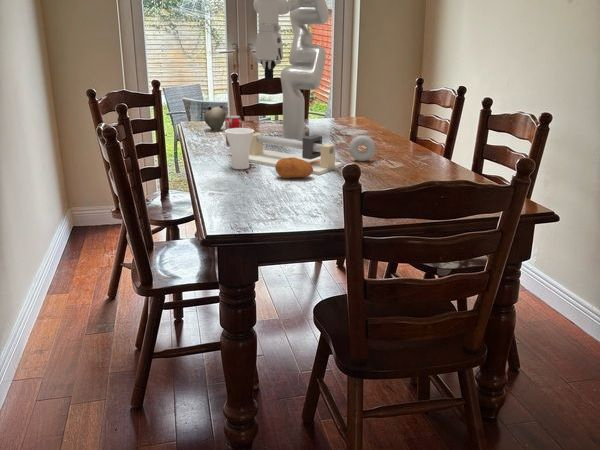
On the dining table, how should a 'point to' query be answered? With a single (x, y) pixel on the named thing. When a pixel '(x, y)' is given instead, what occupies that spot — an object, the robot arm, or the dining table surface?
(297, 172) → the potato
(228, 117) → the soda can
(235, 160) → the cup
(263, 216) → the dining table surface
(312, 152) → the collar
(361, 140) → the donut
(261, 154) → the pipe stand
